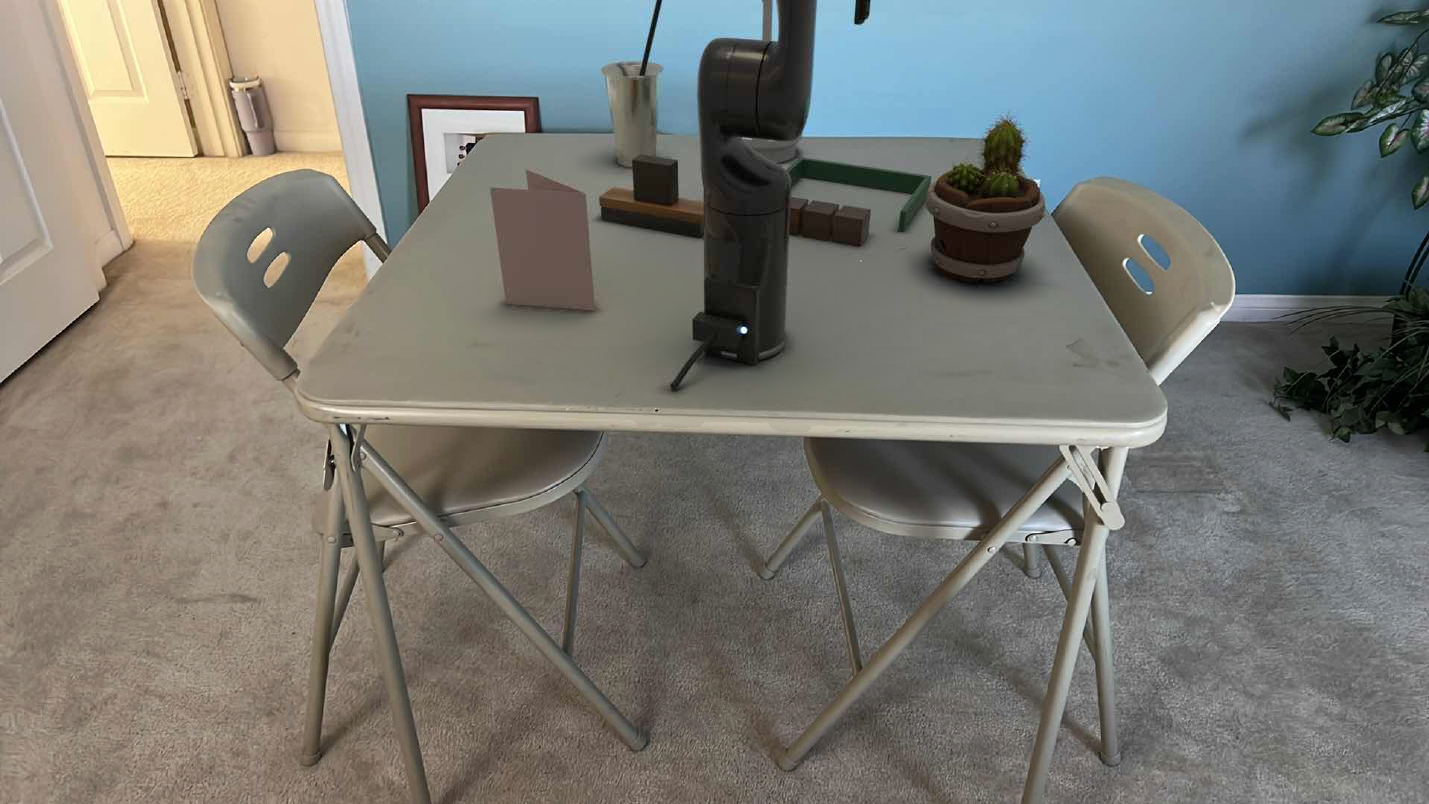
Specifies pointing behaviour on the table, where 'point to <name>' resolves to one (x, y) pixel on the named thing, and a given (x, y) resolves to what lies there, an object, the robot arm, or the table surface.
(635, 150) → the glass
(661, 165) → the hand brush
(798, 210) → the cube
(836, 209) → the cube
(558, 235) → the greeting card
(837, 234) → the cube
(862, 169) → the frame
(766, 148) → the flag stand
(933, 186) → the flowerpot
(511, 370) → the table surface
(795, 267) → the table surface
